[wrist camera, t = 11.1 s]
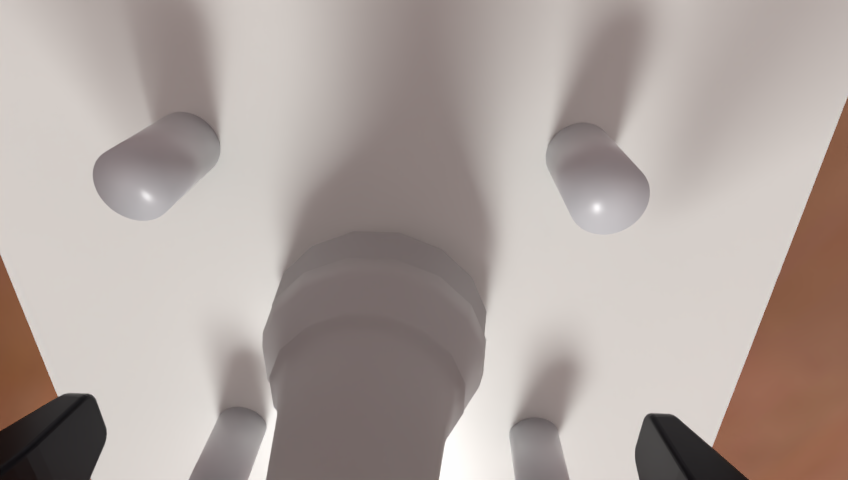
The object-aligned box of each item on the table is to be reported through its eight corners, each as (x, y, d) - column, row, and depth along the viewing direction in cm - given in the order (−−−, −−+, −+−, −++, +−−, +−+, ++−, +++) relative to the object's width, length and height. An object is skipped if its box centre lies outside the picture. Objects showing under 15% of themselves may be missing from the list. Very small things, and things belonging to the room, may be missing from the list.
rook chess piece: (497, 377, 12) (571, 943, 5) (310, 399, 13) (152, 941, 6) (470, 202, 10) (530, 745, 3) (249, 237, 11) (-112, 769, 4)
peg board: (117, 464, 16) (51, 568, 13) (-66, -39, 10) (-260, -35, 7) (670, 485, 15) (717, 595, 13) (847, -19, 9) (1009, -7, 7)
